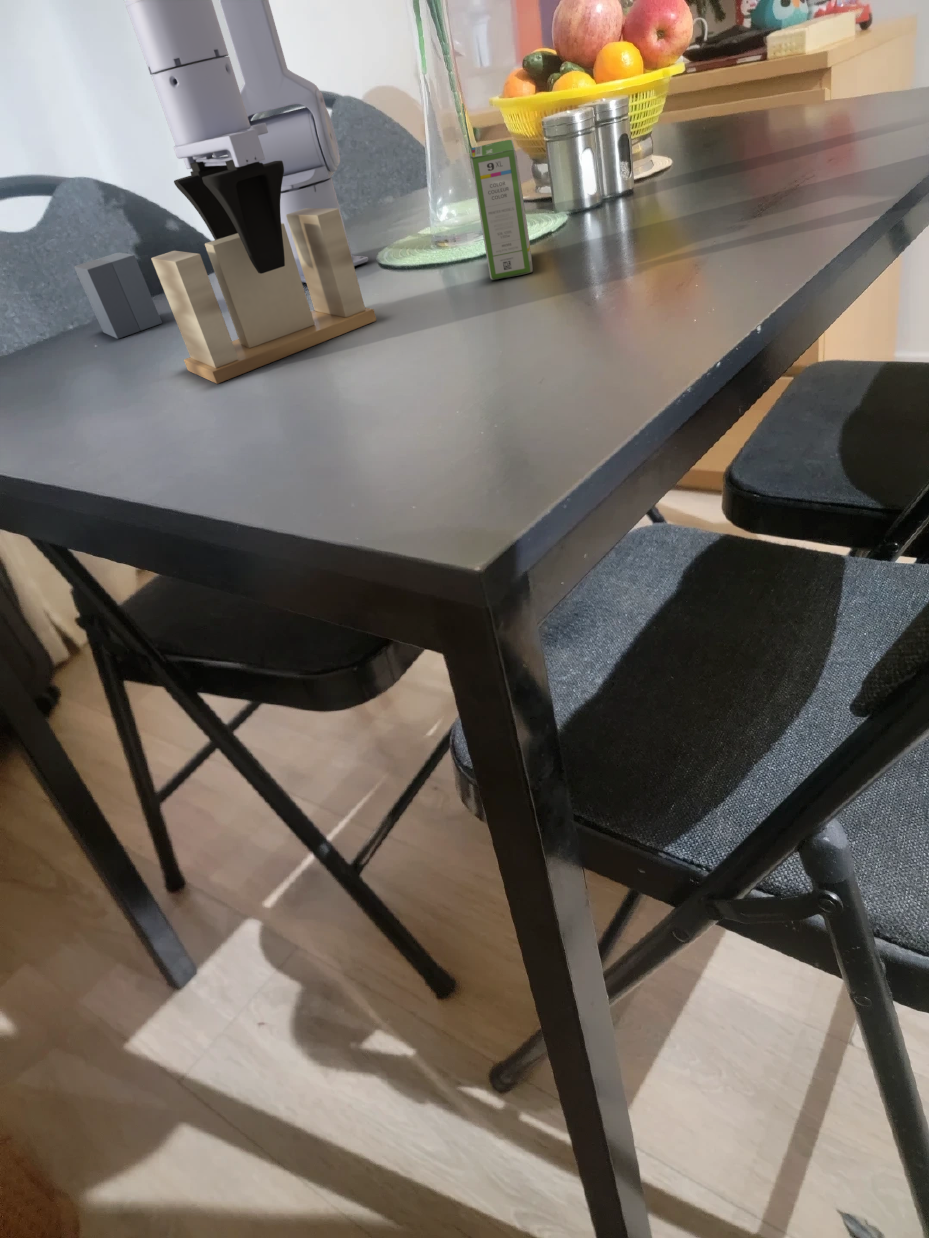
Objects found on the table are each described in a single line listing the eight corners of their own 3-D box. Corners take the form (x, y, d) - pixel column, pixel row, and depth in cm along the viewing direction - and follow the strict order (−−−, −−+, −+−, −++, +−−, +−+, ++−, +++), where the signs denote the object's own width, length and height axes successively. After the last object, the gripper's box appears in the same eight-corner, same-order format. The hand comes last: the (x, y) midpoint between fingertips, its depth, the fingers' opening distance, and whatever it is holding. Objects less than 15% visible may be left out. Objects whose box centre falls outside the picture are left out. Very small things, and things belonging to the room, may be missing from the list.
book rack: (187, 371, 70) (142, 259, 64) (339, 312, 75) (308, 206, 70) (217, 384, 64) (170, 264, 59) (376, 320, 70) (347, 206, 65)
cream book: (249, 348, 67) (212, 245, 63) (240, 344, 69) (204, 243, 65) (315, 325, 69) (284, 223, 65) (304, 321, 71) (273, 222, 67)
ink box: (535, 273, 72) (508, 96, 65) (490, 282, 73) (458, 108, 65) (531, 255, 78) (506, 91, 70) (490, 264, 78) (461, 102, 71)
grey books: (103, 332, 90) (73, 266, 86) (146, 317, 92) (118, 252, 88) (117, 339, 86) (86, 269, 82) (162, 323, 88) (134, 254, 84)
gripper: (275, 41, 54) (335, 257, 62) (215, 65, 65) (272, 245, 73) (173, 65, 52) (248, 286, 60) (128, 85, 63) (197, 269, 71)
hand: (256, 265), depth 66 cm, fingers open, 7 cm apart
